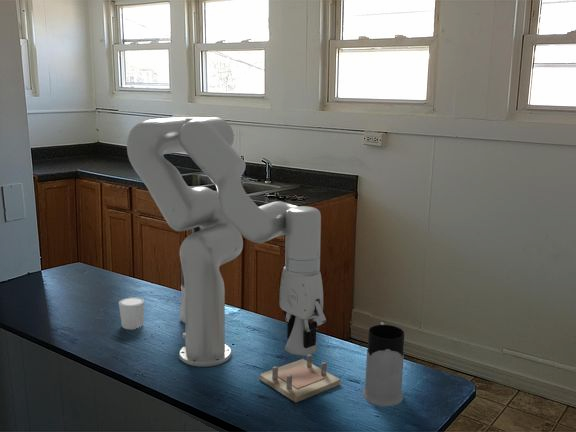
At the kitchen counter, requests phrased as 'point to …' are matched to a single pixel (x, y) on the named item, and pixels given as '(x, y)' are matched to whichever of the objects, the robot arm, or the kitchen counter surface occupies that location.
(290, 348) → the flask
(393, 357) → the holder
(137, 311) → the white tapered cylinder
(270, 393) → the kitchen counter surface
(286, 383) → the four-post base plate
